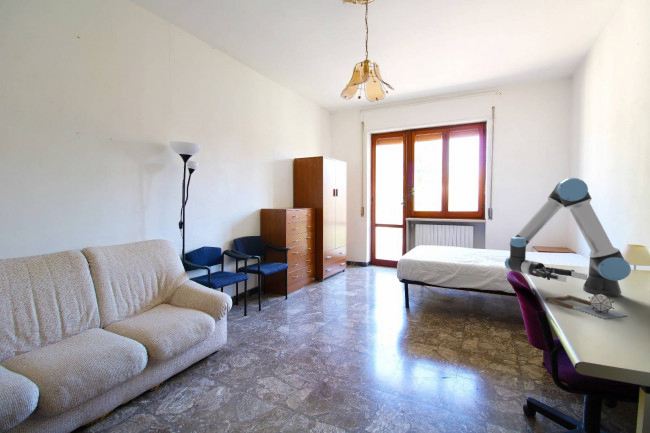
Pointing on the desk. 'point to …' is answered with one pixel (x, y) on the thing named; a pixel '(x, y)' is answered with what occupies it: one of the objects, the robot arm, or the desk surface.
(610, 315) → the mat
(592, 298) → the game die
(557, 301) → the open frame
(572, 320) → the desk surface
